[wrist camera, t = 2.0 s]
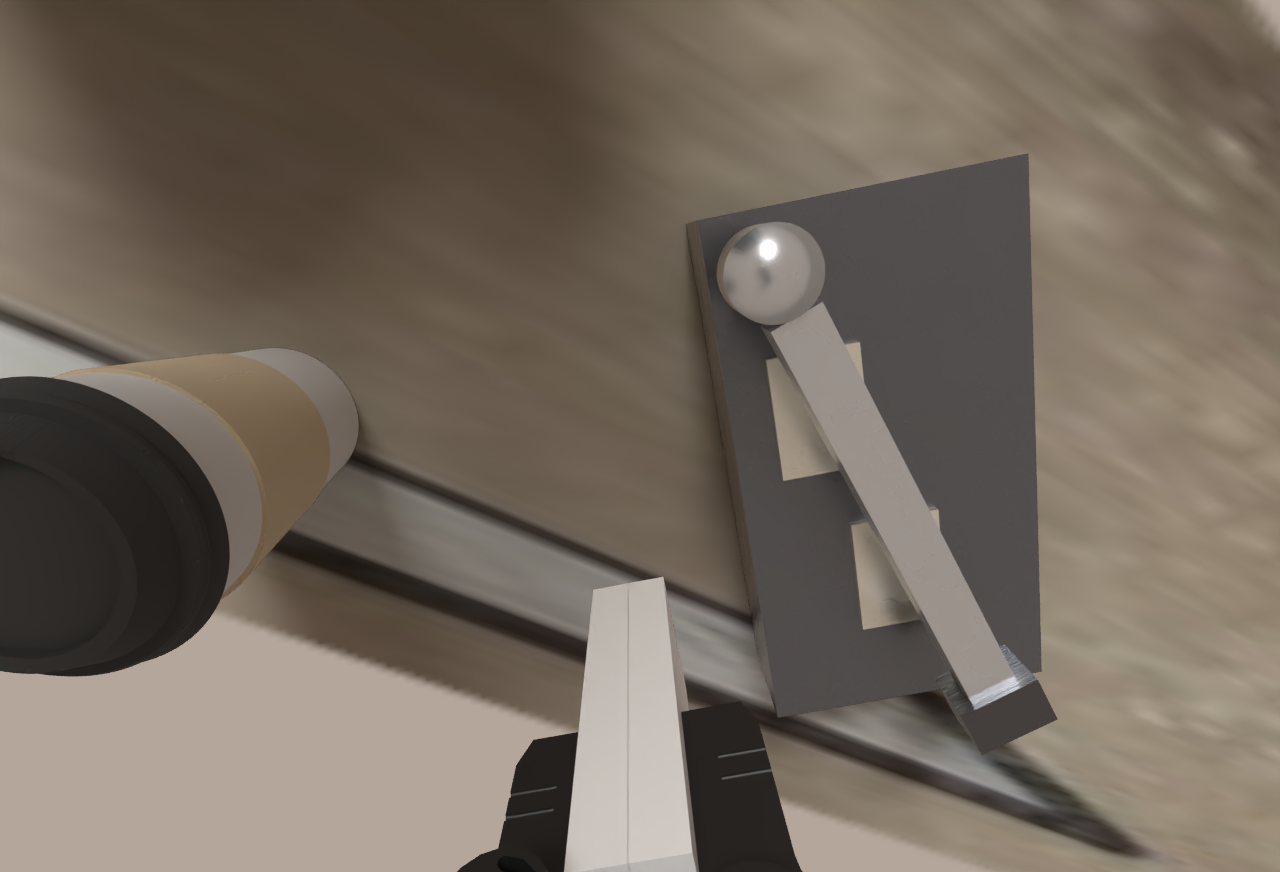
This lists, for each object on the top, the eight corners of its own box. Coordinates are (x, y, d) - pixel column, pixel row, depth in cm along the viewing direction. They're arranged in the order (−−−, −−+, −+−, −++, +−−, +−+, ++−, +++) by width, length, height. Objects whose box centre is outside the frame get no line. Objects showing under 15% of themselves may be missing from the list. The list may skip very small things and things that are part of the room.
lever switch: (685, 224, 29) (706, 217, 21) (960, 168, 28) (1081, 141, 21) (758, 658, 35) (794, 773, 28) (984, 618, 35) (1084, 723, 27)
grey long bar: (699, 255, 22) (707, 256, 20) (780, 205, 21) (797, 201, 19) (954, 714, 27) (982, 754, 25) (1023, 681, 26) (1057, 719, 24)
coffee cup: (407, 487, 32) (228, 687, 18) (230, 526, 32) (-86, 752, 18) (343, 302, 30) (74, 359, 15) (152, 346, 30) (-287, 443, 16)
